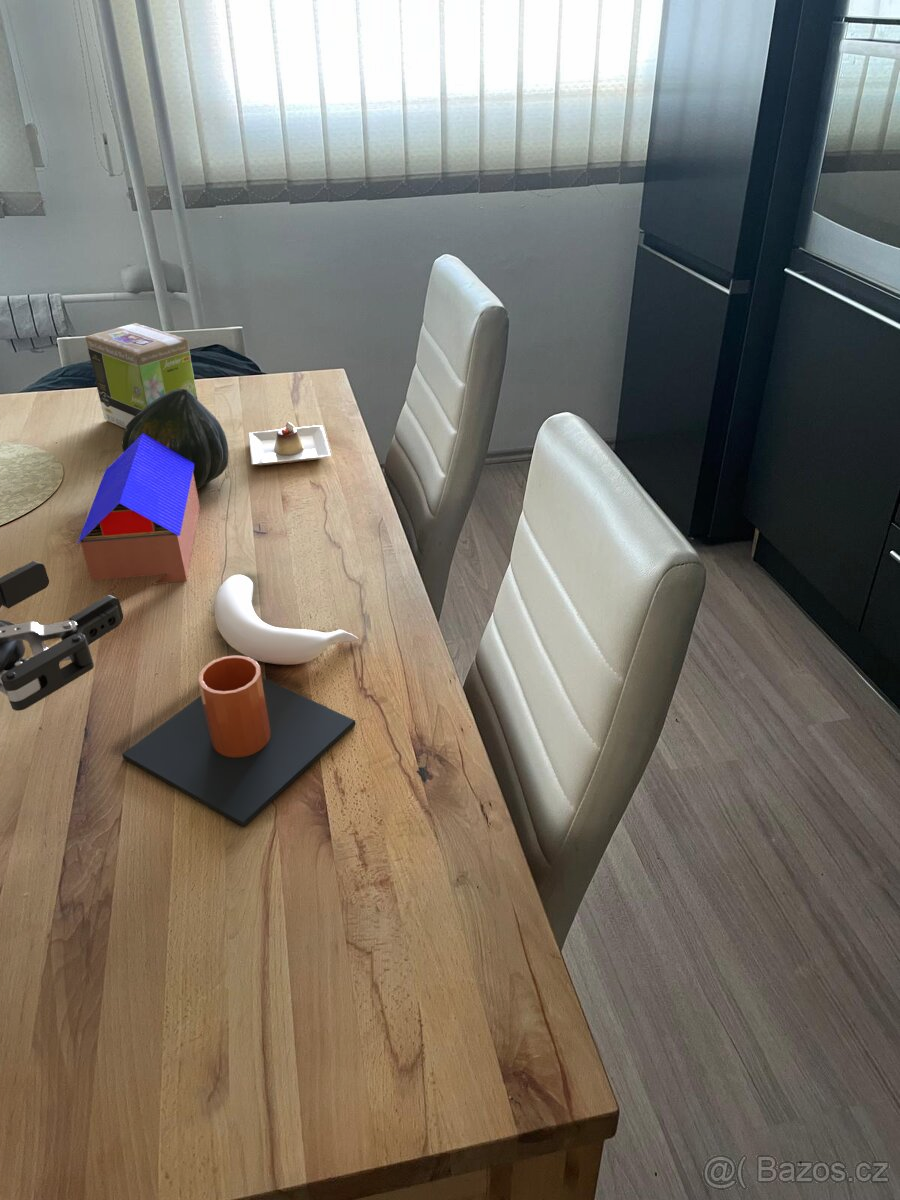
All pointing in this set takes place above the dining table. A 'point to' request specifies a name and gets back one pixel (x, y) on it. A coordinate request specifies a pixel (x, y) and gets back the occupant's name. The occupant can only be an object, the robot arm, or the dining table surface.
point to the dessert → (288, 445)
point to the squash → (183, 432)
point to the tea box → (137, 369)
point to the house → (143, 515)
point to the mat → (245, 781)
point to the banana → (266, 629)
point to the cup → (235, 705)
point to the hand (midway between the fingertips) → (79, 588)
